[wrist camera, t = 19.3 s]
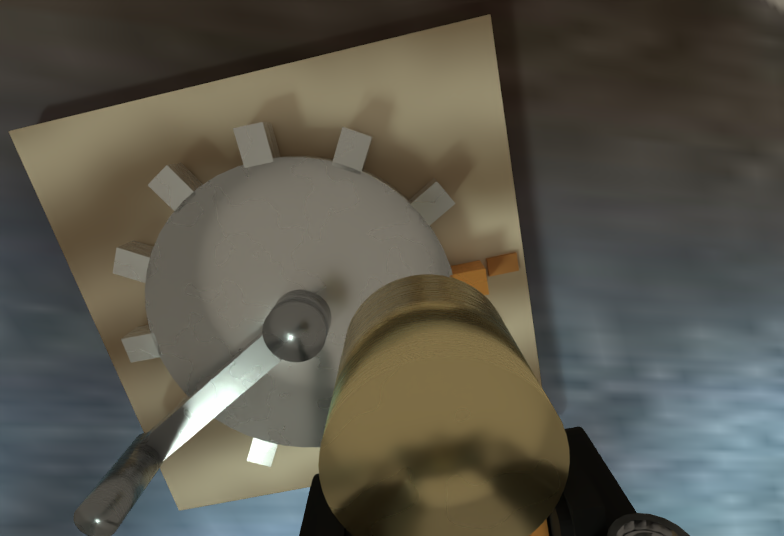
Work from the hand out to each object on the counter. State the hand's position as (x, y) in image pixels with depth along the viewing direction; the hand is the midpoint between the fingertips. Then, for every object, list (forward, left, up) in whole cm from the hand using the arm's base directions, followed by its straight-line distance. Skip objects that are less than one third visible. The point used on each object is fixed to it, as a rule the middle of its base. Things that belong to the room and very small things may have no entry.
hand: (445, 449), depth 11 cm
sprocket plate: (0, +6, -15) cm, 16 cm away
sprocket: (-1, +7, -13) cm, 15 cm away
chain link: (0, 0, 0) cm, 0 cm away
